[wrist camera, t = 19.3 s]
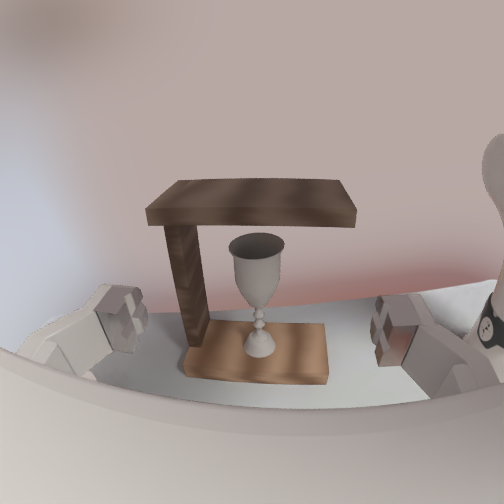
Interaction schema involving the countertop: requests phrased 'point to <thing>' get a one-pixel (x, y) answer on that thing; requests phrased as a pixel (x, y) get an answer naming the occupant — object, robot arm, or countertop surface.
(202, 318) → the wooden c-shaped stand
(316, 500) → the robot arm
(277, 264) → the chalice
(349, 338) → the countertop surface
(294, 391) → the countertop surface
